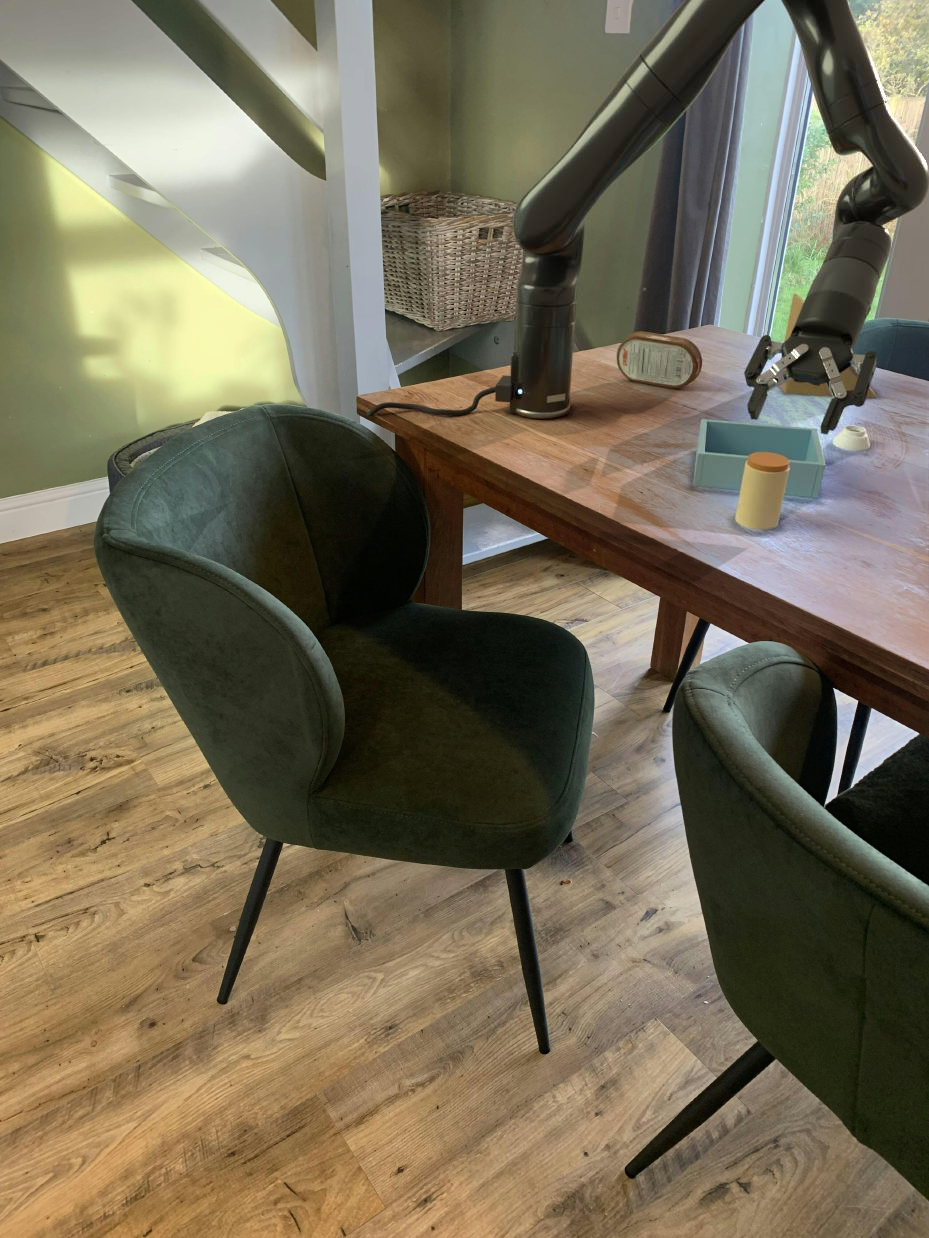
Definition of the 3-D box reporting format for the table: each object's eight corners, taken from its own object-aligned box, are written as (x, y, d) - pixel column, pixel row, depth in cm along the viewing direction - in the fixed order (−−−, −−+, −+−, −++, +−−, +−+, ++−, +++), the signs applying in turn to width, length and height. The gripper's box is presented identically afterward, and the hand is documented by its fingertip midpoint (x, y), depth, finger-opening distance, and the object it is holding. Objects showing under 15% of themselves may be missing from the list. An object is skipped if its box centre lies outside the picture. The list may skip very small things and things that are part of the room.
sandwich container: (878, 398, 148) (902, 306, 140) (784, 394, 149) (802, 303, 141) (866, 383, 155) (888, 294, 147) (776, 379, 157) (793, 291, 149)
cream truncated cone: (825, 443, 130) (844, 455, 126) (829, 424, 128) (849, 436, 124) (855, 440, 131) (875, 453, 126) (860, 421, 129) (880, 433, 125)
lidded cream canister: (734, 531, 105) (746, 465, 100) (734, 514, 109) (746, 449, 105) (777, 536, 104) (792, 469, 99) (776, 518, 108) (790, 453, 103)
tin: (699, 388, 152) (706, 339, 147) (692, 393, 150) (700, 343, 145) (619, 375, 159) (623, 327, 154) (612, 379, 156) (616, 331, 152)
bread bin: (692, 490, 115) (698, 453, 113) (696, 452, 126) (701, 418, 124) (816, 502, 112) (825, 465, 109) (809, 463, 123) (817, 428, 120)
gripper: (775, 281, 107) (726, 397, 105) (898, 296, 100) (848, 420, 98) (780, 317, 114) (734, 427, 112) (896, 333, 107) (849, 450, 105)
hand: (787, 423), depth 105 cm, fingers open, 8 cm apart
